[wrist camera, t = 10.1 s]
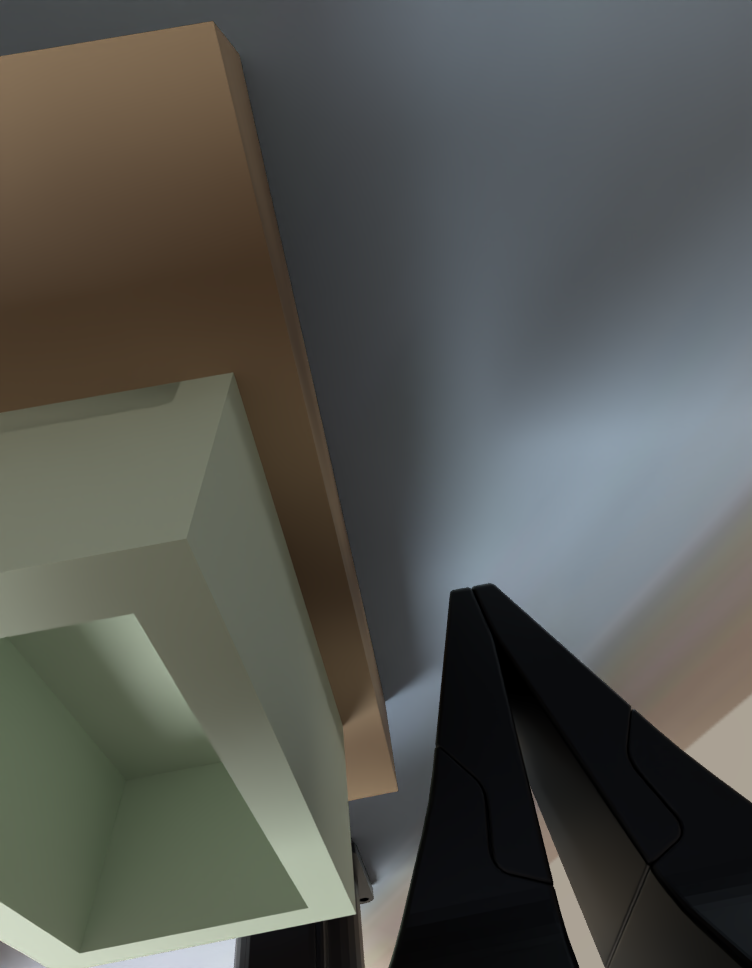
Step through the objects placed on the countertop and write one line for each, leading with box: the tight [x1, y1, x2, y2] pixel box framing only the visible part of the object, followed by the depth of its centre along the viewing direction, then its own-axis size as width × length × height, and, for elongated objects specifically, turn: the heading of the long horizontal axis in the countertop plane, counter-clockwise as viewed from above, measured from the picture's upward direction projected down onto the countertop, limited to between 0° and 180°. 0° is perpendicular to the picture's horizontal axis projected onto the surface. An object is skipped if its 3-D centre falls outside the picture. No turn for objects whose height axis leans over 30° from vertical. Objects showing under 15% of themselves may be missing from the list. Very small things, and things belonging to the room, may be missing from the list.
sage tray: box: [0, 372, 356, 968], centre depth 9 cm, size 10×6×4 cm, turn 8°
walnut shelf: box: [0, 21, 398, 801], centre depth 11 cm, size 18×14×6 cm
